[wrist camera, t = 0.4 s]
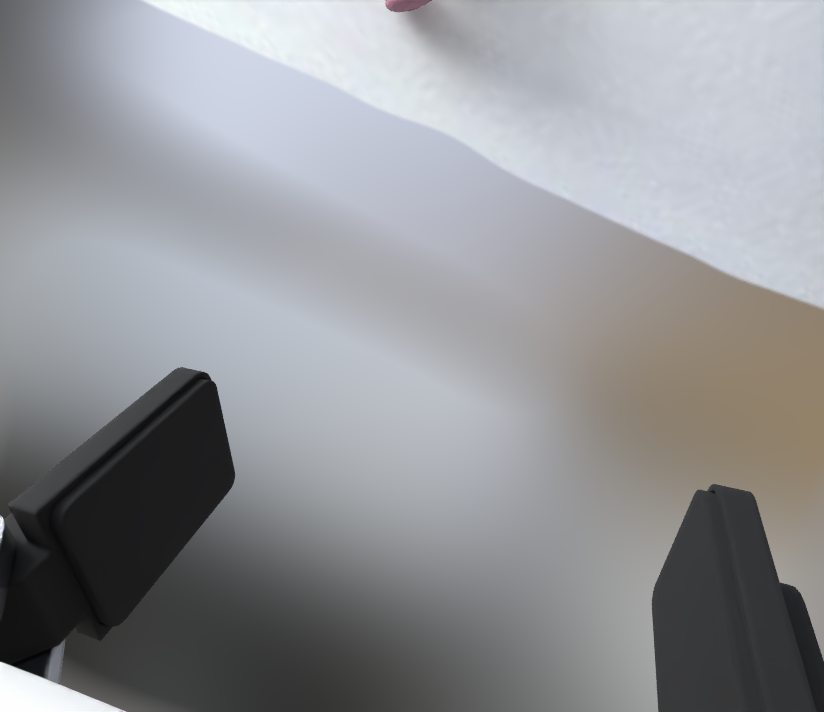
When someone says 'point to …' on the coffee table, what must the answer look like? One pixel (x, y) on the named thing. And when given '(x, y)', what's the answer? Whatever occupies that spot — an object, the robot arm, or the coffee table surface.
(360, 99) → the coffee table surface
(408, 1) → the video game controller
